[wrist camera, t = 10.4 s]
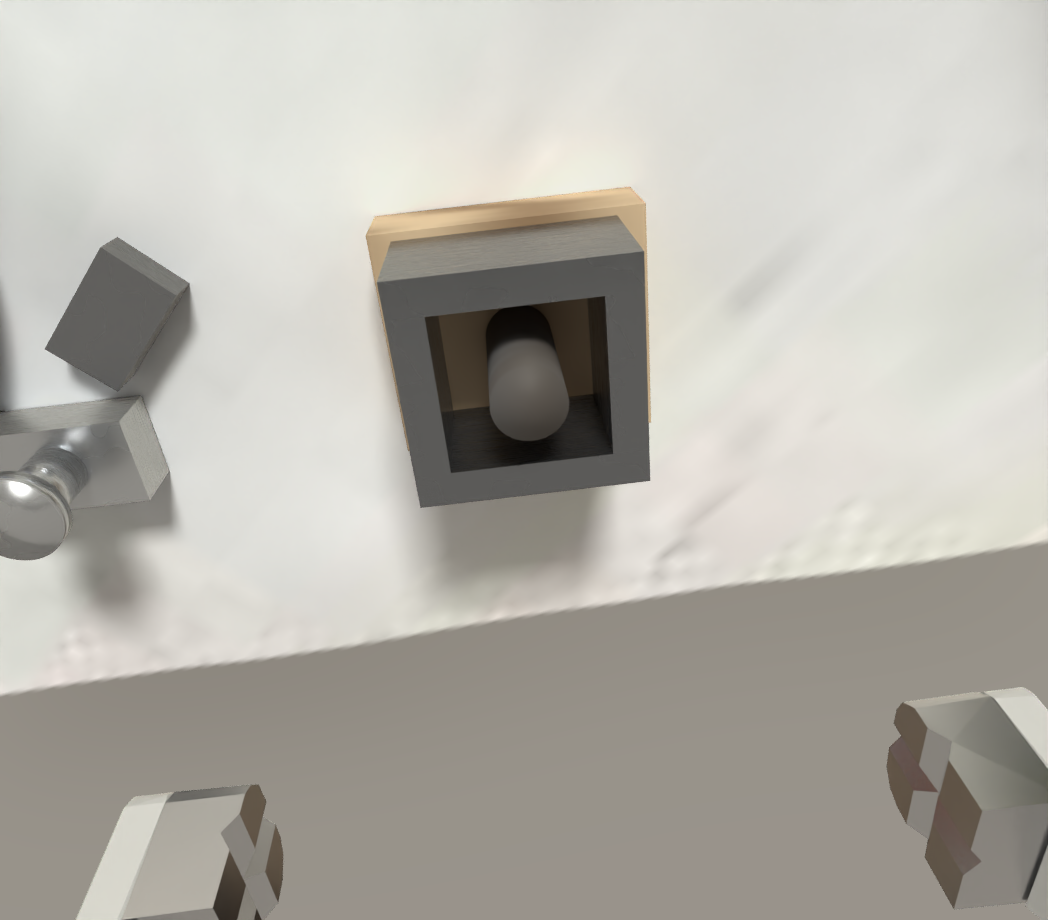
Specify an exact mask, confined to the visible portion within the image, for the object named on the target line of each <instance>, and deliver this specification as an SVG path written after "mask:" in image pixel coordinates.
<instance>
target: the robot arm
mask: <svg viewBox="0 0 1048 920" xmlns="http://www.w3.org/2000/svg"><path fill="white" fill-rule="evenodd" d="M894 724H895V726H896V728H897V730H898V731H899V733H900V735H901V737H900V738H899V739H898V740H897V741H895V742H894V744H892V745H891V746H890V747H889V753H888V759H887V772H888V778H889V784H890V789H891V791H892V794H893V797H894V800H895V802H896V805H897V807H898V809H899V811H900V813H901V814H902V816H903V818H904V820H905V822H906V824H907V825H909V826H910V827H912V828H913V829H915V830H916V831H917V832H919V833H920V834H922V835H923V836H925V837H926V838H927V839H928V842H927V847H926V853H925V859H926V860H927V862H928V864H929V866H930V868H931V869H932V871H933V873H934V875H935V876H936V878H937V880H938V882H939V884H940V886H941V887H942V889H943V891H944V892H945V895H946V896H947V898H948V900H949V901H950V903H951V905H952V907H953V909H964V908H974V907H984V906H994V905H1005V904H1015V903H1025V902H1027V903H1026V906H1025V907H1027V908H1028V909H1029V910H1030V911H1031V912H1033V913H1034V914H1035V915H1036V916H1038V917H1039V918H1040V919H1041V920H1048V710H1047V709H1046V708H1045V706H1044V705H1043V704H1042V703H1041V702H1040V701H1039V699H1038V698H1037V697H1036V696H1035V695H1034V694H1033V693H1032V692H1030V691H1029V690H1027V689H1025V688H1023V687H1019V688H1011V689H1003V690H994V691H986V692H981V693H978V692H973V693H965V694H958V695H951V696H944V697H936V698H930V699H922V700H915V701H908V702H903V703H902V704H901V705H900V706H899V707H898V708H897V710H896V715H895V720H894ZM265 805H266V799H265V797H264V795H263V793H262V791H261V788H260V786H259V785H242V786H232V787H222V788H211V789H203V790H202V789H201V790H191V791H181V792H172V793H163V794H155V795H146V796H137V797H134V798H133V799H132V800H131V801H130V802H129V803H128V804H127V805H126V807H125V808H124V809H123V810H122V813H121V815H120V818H119V820H118V822H117V824H116V827H115V829H114V831H113V834H112V836H111V838H110V841H109V843H108V845H107V848H106V850H105V852H104V854H103V857H102V859H101V861H100V864H99V866H98V869H97V871H96V873H95V875H94V878H93V880H92V882H91V885H90V887H89V889H88V892H87V894H86V896H85V899H84V901H83V903H82V905H81V908H80V910H79V912H78V915H77V917H76V919H75V920H264V919H265V918H266V917H267V916H268V915H269V913H270V912H271V911H272V910H273V909H274V907H275V906H276V905H277V904H278V901H279V896H280V891H281V886H282V880H283V849H282V844H281V837H280V834H279V832H278V829H277V827H276V824H274V823H273V822H271V821H269V820H268V819H266V818H264V817H263V814H264V810H265Z"/></svg>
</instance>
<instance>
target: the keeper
mask: <svg viewBox="0 0 1048 920" xmlns="http://www.w3.org/2000/svg"><path fill="white" fill-rule="evenodd" d="M614 215H617V216H618V217H619V218H620V220H621V221H622V222H623V224H624V225H625V226H626V228H627V229H628V230H629V232H630V233H631V234H632V236H633V237H634V238H635V240H636V241H637V242H638V244H639V245H640V246H641V248H642V249H643V250H644V261H645V301H646V341H647V381H648V421H649V422H651V408H650V365H649V323H648V281H647V238H646V203H645V202H644V201H643V200H642V199H641V198H640V197H639V196H638V195H637V194H636V193H635V192H634V191H633V189H632V188H631V187H625V188H616V189H607V190H599V191H590V192H582V193H573V194H564V195H556V196H547V197H539V198H530V199H521V200H513V201H504V202H496V203H487V204H478V205H470V206H461V207H453V208H444V209H435V210H427V211H418V212H410V213H401V214H392V215H384V216H375V217H374V219H373V221H372V224H371V226H370V228H369V230H368V232H367V234H366V240H367V245H368V250H369V255H370V260H371V265H372V270H373V275H374V280H375V285H376V291H377V296H378V301H379V306H380V311H381V316H382V321H383V326H384V331H385V336H386V341H387V346H388V351H389V356H390V362H391V367H392V372H393V377H394V382H395V387H396V392H397V397H398V402H399V407H400V412H401V417H402V422H403V427H404V433H405V438H406V443H407V448H408V451H410V450H409V445H408V440H407V435H406V430H405V425H404V420H403V414H402V409H401V404H400V399H399V394H398V389H397V384H396V379H395V374H394V369H393V363H392V358H391V353H390V348H389V343H388V338H387V333H386V328H385V323H384V318H383V312H382V307H381V302H380V297H379V292H378V287H377V280H378V277H379V274H380V271H381V268H382V265H383V263H384V260H385V257H386V254H387V251H388V248H389V245H390V242H391V241H399V240H408V239H416V238H425V237H433V236H442V235H451V234H459V233H468V232H476V231H485V230H494V229H502V228H511V227H519V226H528V225H537V224H545V223H554V222H562V221H571V220H580V219H588V218H597V217H605V216H614ZM438 317H439V324H440V330H441V336H442V342H443V349H444V355H445V361H446V367H447V374H448V380H449V386H450V392H451V399H452V405H453V410H460V409H468V408H477V407H486V406H490V414H491V417H492V420H493V421H494V423H495V425H496V426H497V427H498V429H499V430H500V431H502V432H503V433H504V434H506V435H507V436H509V437H511V438H514V439H517V440H522V441H535V440H539V439H543V438H545V437H548V436H549V435H551V434H553V433H554V432H555V431H557V430H558V429H559V428H560V426H561V425H562V424H563V422H564V421H565V419H566V417H567V414H568V411H569V397H571V396H579V395H588V394H593V382H592V366H591V350H590V334H589V317H588V301H587V298H584V299H576V300H567V301H558V302H550V303H541V304H533V305H524V306H516V307H507V308H498V309H490V310H481V311H473V312H464V313H456V314H447V315H438Z"/></svg>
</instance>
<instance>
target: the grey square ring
mask: <svg viewBox="0 0 1048 920" xmlns="http://www.w3.org/2000/svg"><path fill="white" fill-rule="evenodd" d="M377 287H378V292H379V297H380V302H381V307H382V312H383V318H384V323H385V328H386V333H387V338H388V343H389V348H390V353H391V358H392V363H393V369H394V374H395V379H396V384H397V389H398V394H399V399H400V404H401V409H402V414H403V420H404V425H405V430H406V435H407V440H408V445H409V450H410V455H411V460H412V466H413V471H414V476H415V481H416V486H417V491H418V496H419V501H420V506H421V508H423V507H431V506H440V505H448V504H457V503H465V502H474V501H482V500H491V499H499V498H508V497H516V496H525V495H533V494H542V493H550V492H559V491H567V490H576V489H584V488H593V487H601V486H610V485H618V484H627V483H635V482H644V481H650V460H649V421H648V381H647V341H646V301H645V261H644V250H643V249H642V248H641V246H640V245H639V244H638V242H637V241H636V240H635V238H634V237H633V236H632V234H631V233H630V232H629V230H628V229H627V228H626V226H625V225H624V224H623V222H622V221H621V220H620V218H619V217H618V216H617V215H614V216H605V217H597V218H588V219H580V220H571V221H562V222H554V223H545V224H537V225H528V226H519V227H511V228H502V229H494V230H485V231H476V232H468V233H459V234H451V235H442V236H433V237H425V238H416V239H408V240H399V241H391V242H390V245H389V248H388V251H387V254H386V257H385V260H384V263H383V265H382V268H381V271H380V274H379V277H378V280H377ZM584 298H587V301H588V317H589V334H590V350H591V366H592V382H593V394H588V395H579V396H571V397H569V411H568V414H567V417H566V419H565V421H564V422H563V424H562V425H561V426H560V428H559V429H558V430H557V431H555V432H554V433H553V434H551V435H549V436H548V437H545V438H543V439H539V440H535V441H522V440H517V439H514V438H511V437H509V436H507V435H506V434H504V433H503V432H502V431H500V430H499V429H498V427H497V426H496V425H495V423H494V421H493V420H492V417H491V414H490V406H486V407H477V408H468V409H460V410H453V405H452V399H451V392H450V386H449V380H448V374H447V367H446V361H445V355H444V349H443V342H442V336H441V330H440V324H439V317H438V315H447V314H456V313H464V312H473V311H481V310H490V309H498V308H507V307H516V306H524V305H533V304H541V303H550V302H558V301H567V300H576V299H584Z"/></svg>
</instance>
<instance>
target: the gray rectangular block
mask: <svg viewBox="0 0 1048 920" xmlns="http://www.w3.org/2000/svg"><path fill="white" fill-rule="evenodd" d="M188 285H189V283H188V282H186V281H185V280H183V279H182V278H180V277H179V276H177V275H176V274H174V273H172V272H171V271H169V270H168V269H166V268H165V267H163V266H162V265H160V264H159V263H157V262H155V261H154V260H152V259H151V258H149V257H148V256H146V255H145V254H143V253H141V252H140V251H138V250H137V249H135V248H134V247H132V246H131V245H129V244H127V243H126V242H124V241H123V240H121V239H120V238H118V237H117V238H115V239H114V240H112V241H110V242H109V243H107V244H105V245H103V246H102V247H100V249H99V251H98V253H97V255H96V256H95V258H94V260H93V262H92V264H91V266H90V267H89V269H88V271H87V273H86V275H85V277H84V278H83V280H82V282H81V284H80V286H79V287H78V289H77V291H76V293H75V295H74V297H73V298H72V300H71V302H70V304H69V306H68V308H67V309H66V311H65V313H64V315H63V317H62V318H61V320H60V322H59V324H58V326H57V328H56V329H55V331H54V333H53V335H52V337H51V339H50V340H49V342H48V344H47V346H46V348H45V350H47V351H49V352H51V353H52V354H54V355H56V356H58V357H59V358H61V359H63V360H64V361H66V362H68V363H70V364H71V365H73V366H75V367H76V368H78V369H80V370H82V371H83V372H85V373H87V374H89V375H90V376H92V377H94V378H95V379H97V380H99V381H101V382H102V383H104V384H106V385H108V386H109V387H111V388H113V389H114V390H116V391H119V390H120V389H121V388H122V387H123V386H124V385H125V384H126V383H127V382H128V381H129V380H130V379H131V378H132V377H133V376H134V374H135V372H136V371H137V369H138V367H139V366H140V364H141V362H142V361H143V359H144V357H145V356H146V354H147V353H148V351H149V349H150V348H151V346H152V344H153V343H154V341H155V339H156V338H157V336H158V334H159V333H160V331H161V330H162V328H163V326H164V325H165V323H166V321H167V320H168V318H169V316H170V315H171V313H172V311H173V310H174V308H175V307H176V305H177V303H178V302H179V300H180V298H181V297H182V295H183V293H184V292H185V290H186V288H187V287H188Z"/></svg>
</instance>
